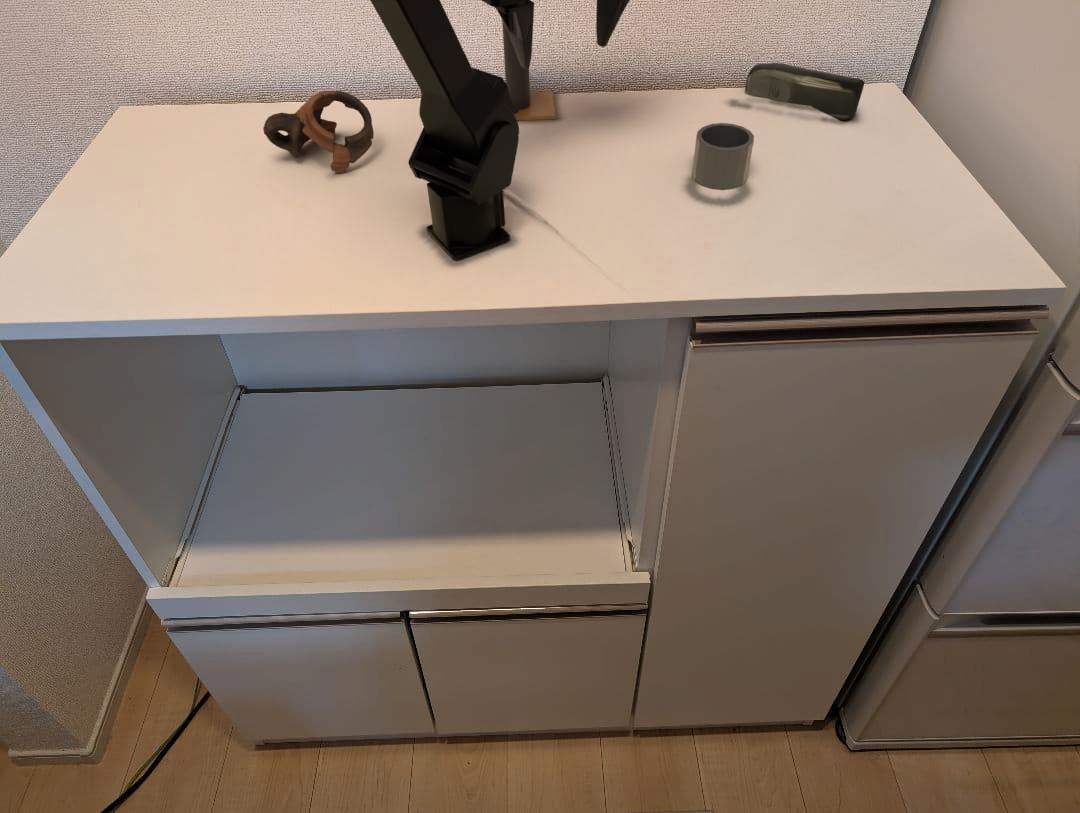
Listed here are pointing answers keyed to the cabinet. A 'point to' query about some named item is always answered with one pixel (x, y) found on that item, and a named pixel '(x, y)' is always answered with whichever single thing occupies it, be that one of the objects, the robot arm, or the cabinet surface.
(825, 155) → the cabinet surface
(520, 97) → the marker
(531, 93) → the cork pad
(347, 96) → the brown curved ring piece
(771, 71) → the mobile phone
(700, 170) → the pen pot
